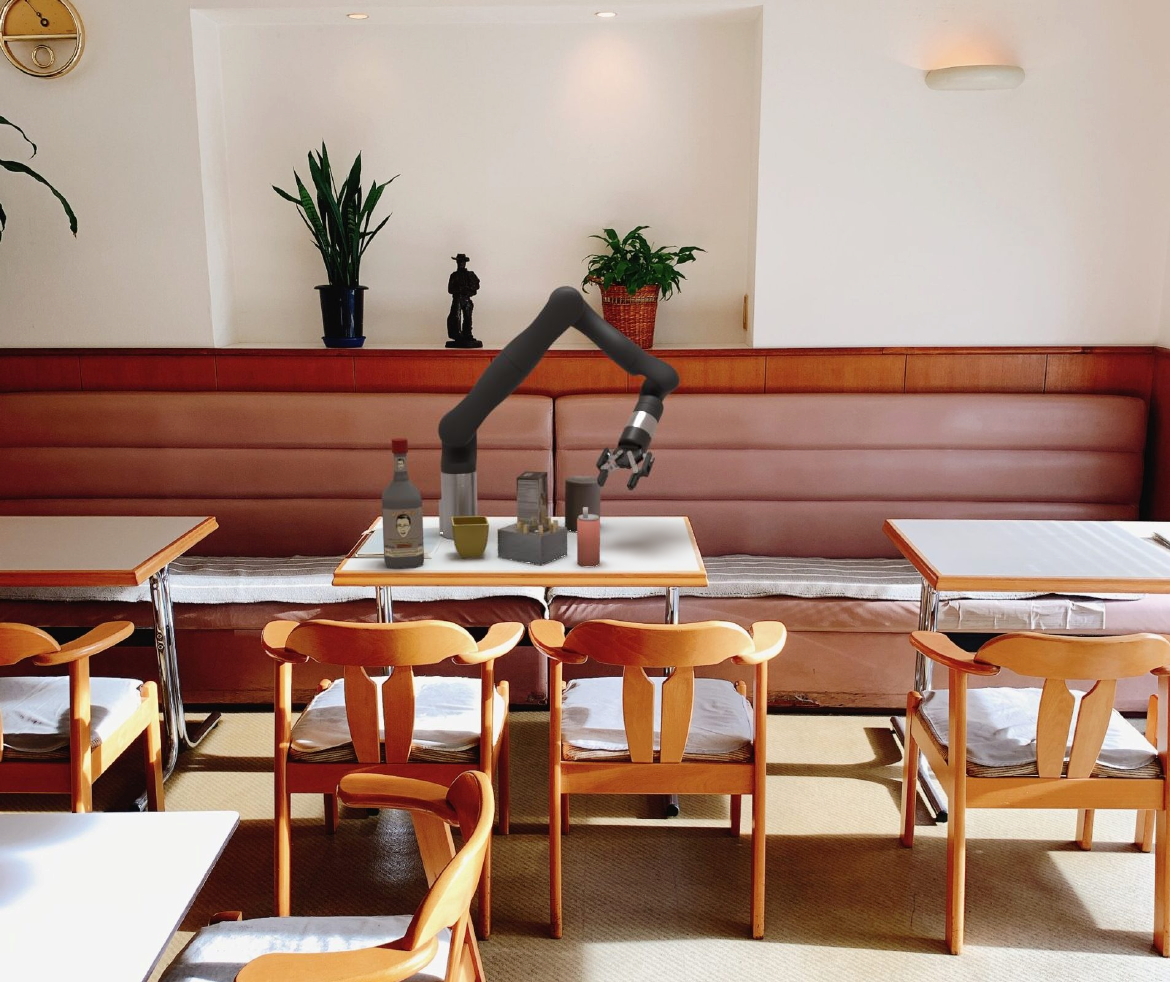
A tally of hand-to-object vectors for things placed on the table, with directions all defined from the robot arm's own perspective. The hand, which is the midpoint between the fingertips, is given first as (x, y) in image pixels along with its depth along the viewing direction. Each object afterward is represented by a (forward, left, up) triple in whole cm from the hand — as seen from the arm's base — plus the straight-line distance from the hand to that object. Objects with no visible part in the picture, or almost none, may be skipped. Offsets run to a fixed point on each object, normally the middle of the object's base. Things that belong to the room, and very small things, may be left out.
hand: (614, 486), depth 255 cm
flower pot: (-28, -21, -17) cm, 39 cm away
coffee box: (-28, +5, -17) cm, 33 cm away
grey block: (-17, -13, -17) cm, 27 cm away
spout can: (0, -11, -17) cm, 20 cm away
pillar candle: (-20, +17, -17) cm, 31 cm away
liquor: (-37, -35, -17) cm, 54 cm away
